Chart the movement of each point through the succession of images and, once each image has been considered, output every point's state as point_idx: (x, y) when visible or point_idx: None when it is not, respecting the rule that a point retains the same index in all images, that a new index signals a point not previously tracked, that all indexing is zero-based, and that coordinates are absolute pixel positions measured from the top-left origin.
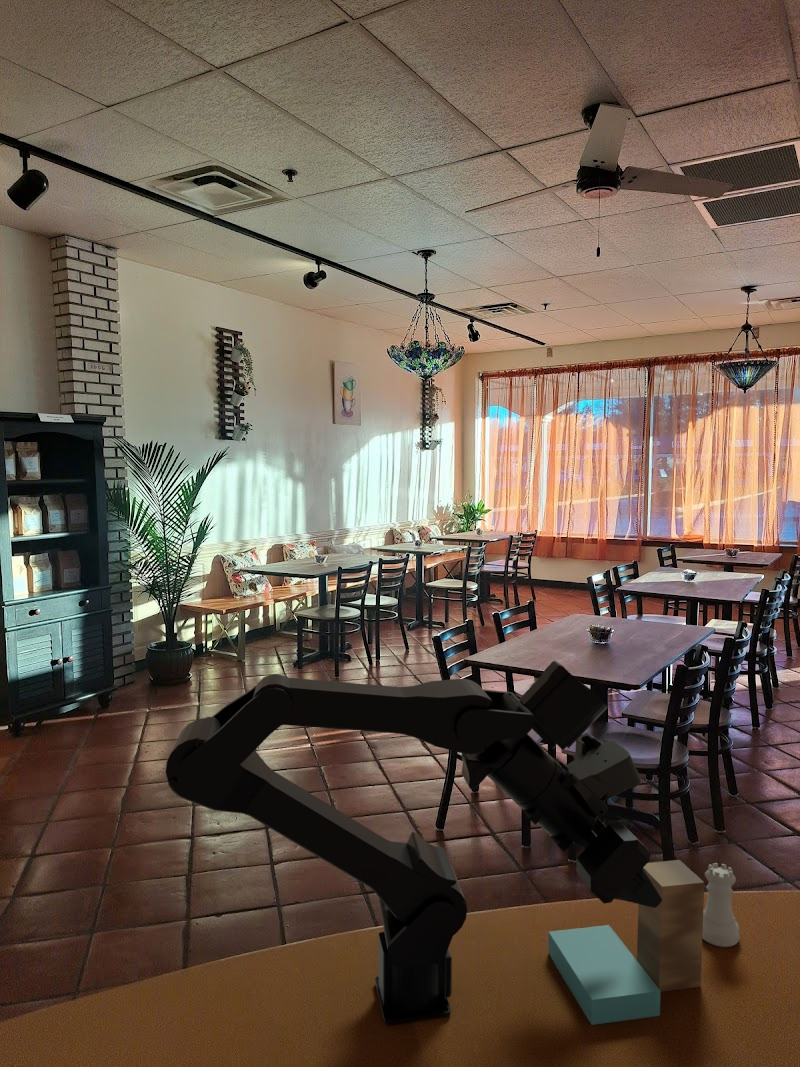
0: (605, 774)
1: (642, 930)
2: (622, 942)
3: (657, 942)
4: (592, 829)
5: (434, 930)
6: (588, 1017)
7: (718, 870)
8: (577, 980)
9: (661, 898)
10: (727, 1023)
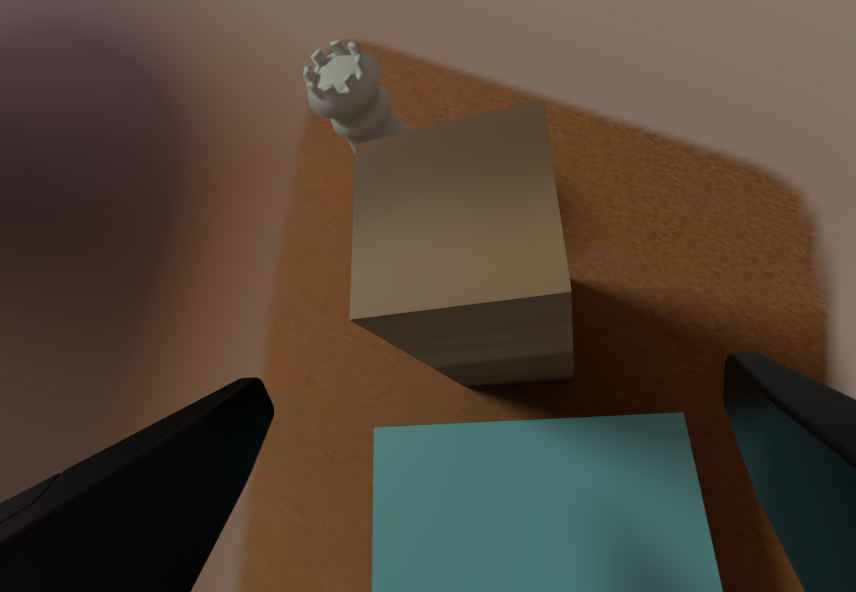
0: None
1: (466, 369)
2: (453, 424)
3: (555, 357)
4: (80, 572)
5: None
6: None
7: (331, 74)
8: None
9: (768, 357)
10: (694, 268)
